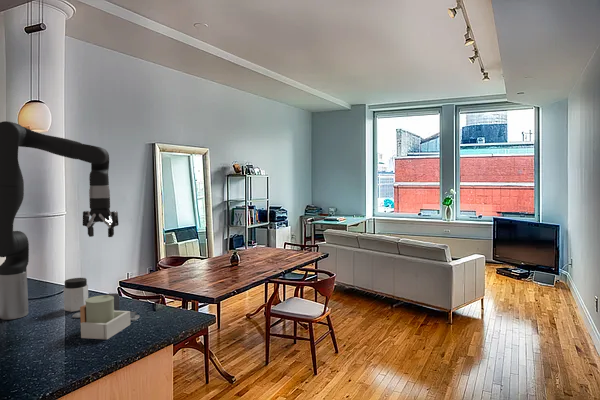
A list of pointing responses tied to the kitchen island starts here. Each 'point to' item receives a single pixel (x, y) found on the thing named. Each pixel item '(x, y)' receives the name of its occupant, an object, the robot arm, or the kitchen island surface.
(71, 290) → the jar
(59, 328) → the kitchen island surface
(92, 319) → the can
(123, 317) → the frame
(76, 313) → the rail
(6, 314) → the robot arm
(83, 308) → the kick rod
